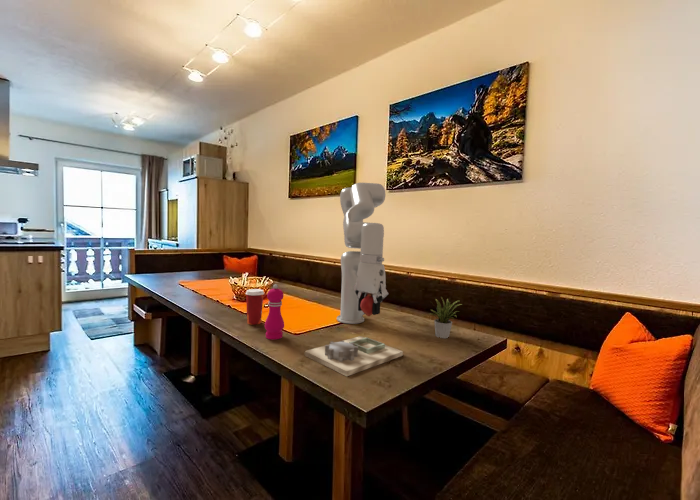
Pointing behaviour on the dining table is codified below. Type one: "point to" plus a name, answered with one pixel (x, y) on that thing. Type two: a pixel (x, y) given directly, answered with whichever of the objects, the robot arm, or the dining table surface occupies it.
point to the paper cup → (254, 306)
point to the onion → (367, 305)
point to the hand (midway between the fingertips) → (368, 311)
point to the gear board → (353, 354)
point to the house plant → (443, 318)
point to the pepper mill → (274, 314)
